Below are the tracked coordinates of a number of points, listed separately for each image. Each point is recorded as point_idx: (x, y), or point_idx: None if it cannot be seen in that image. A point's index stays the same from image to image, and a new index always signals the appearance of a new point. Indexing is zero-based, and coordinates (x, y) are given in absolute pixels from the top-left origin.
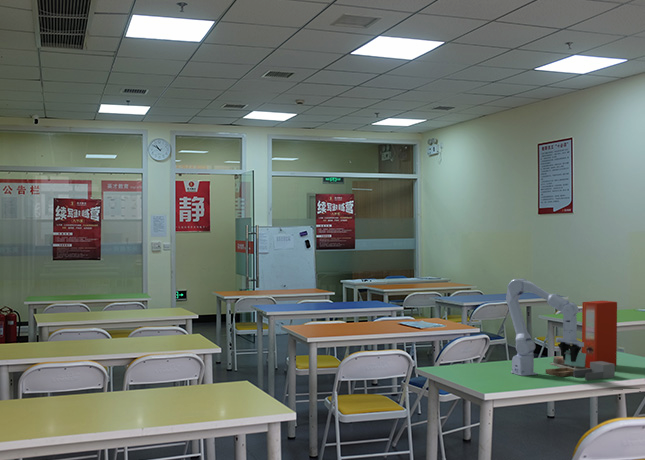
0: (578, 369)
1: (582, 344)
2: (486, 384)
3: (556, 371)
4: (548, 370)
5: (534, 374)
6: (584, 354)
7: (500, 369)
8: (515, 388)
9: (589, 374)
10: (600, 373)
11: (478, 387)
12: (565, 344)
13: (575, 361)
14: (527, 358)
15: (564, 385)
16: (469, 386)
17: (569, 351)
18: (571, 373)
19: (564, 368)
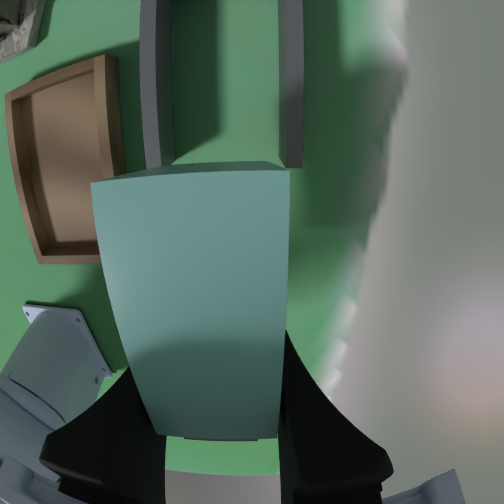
0: (36, 14)
1: (447, 499)
2: (211, 459)
3: (34, 184)
4: (55, 263)
5: (88, 328)
6: (286, 214)
7: (10, 345)
8: (275, 448)
9: (300, 128)
10: (300, 6)
11: (233, 470)
12: (145, 500)
13: (286, 333)
14: (69, 412)
15: (326, 354)
16: (219, 472)
17: (215, 433)
18: (115, 143)
19: (14, 118)
